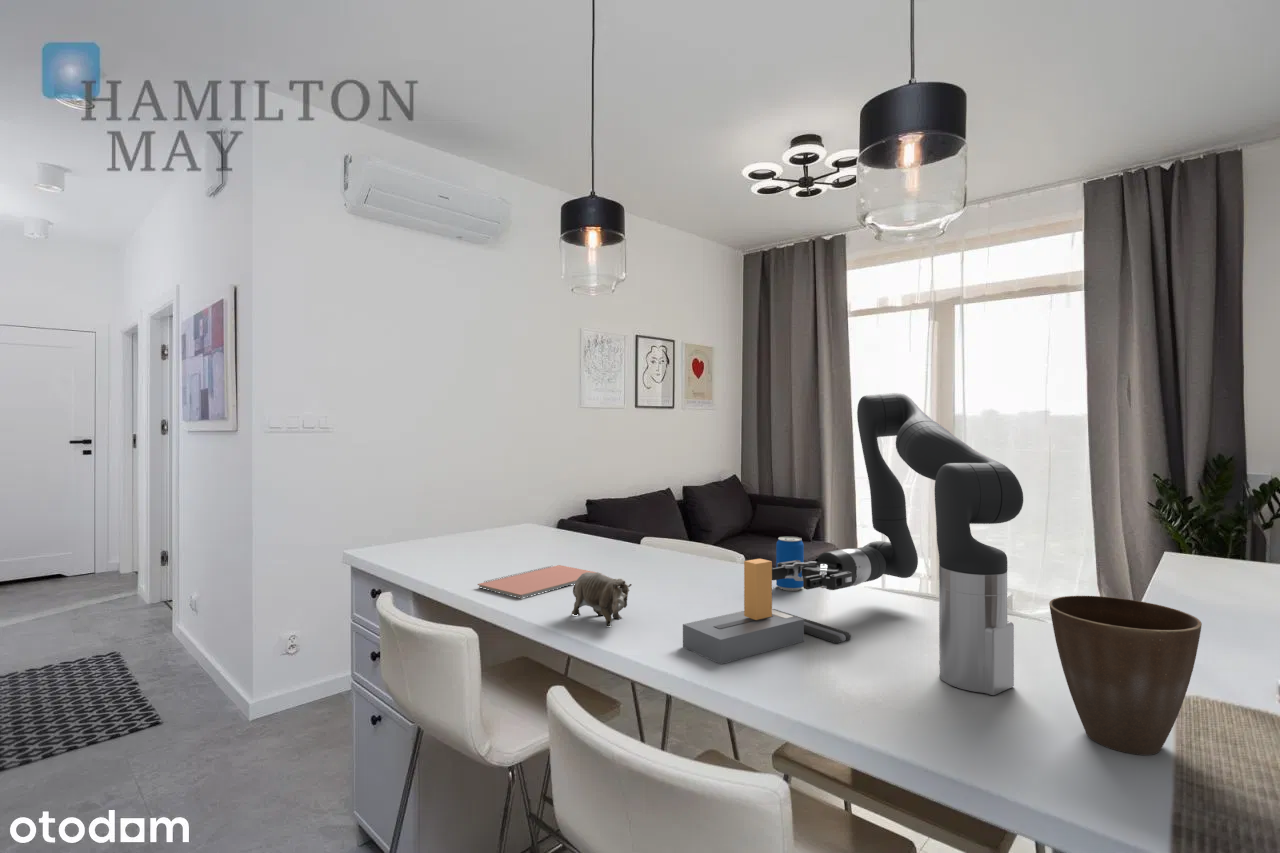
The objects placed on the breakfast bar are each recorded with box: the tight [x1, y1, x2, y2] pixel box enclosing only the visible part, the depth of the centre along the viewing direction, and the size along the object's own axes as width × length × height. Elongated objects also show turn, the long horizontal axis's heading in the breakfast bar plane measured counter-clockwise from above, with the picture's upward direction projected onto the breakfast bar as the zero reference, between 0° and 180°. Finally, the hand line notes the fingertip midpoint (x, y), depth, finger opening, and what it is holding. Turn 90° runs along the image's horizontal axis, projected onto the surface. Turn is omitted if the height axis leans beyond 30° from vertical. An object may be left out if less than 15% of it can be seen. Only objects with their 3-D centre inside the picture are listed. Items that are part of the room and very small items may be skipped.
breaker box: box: [682, 608, 805, 665], centre depth 113 cm, size 10×20×4 cm, turn 124°
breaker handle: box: [743, 558, 773, 620], centre depth 115 cm, size 3×4×10 cm
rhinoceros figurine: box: [571, 571, 632, 627], centre depth 128 cm, size 8×14×15 cm
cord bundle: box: [773, 608, 852, 644], centre depth 120 cm, size 19×10×1 cm, turn 34°
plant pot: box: [1048, 595, 1203, 756], centre depth 78 cm, size 15×15×16 cm
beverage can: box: [775, 536, 805, 592], centre depth 153 cm, size 6×6×12 cm
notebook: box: [477, 564, 603, 598], centre depth 159 cm, size 27×17×2 cm, turn 141°
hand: (787, 579), depth 119 cm, fingers open, 8 cm apart
